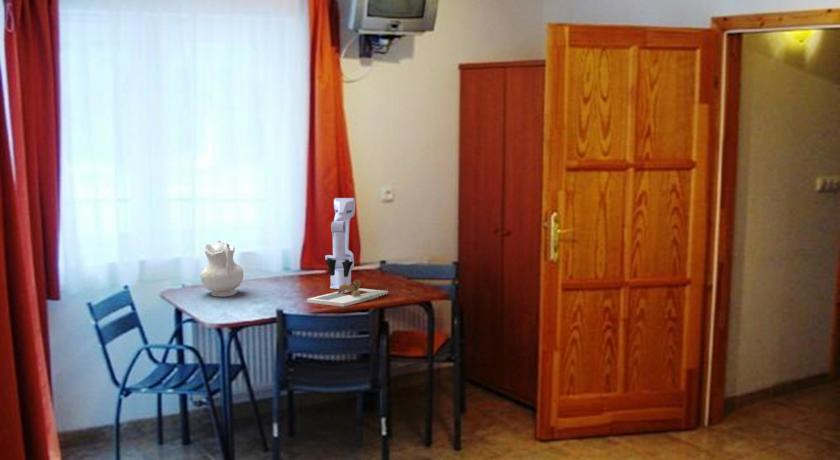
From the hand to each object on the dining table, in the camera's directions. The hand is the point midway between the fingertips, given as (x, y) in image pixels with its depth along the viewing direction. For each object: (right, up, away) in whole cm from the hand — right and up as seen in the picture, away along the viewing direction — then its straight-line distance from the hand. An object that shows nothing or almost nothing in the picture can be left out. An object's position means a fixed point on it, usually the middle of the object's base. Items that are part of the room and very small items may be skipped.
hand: (339, 276), depth 368 cm
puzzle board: (+5, -10, -4) cm, 12 cm away
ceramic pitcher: (-54, -9, +3) cm, 55 cm away
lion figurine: (+4, -10, +2) cm, 11 cm away
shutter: (+15, -8, -5) cm, 18 cm away
